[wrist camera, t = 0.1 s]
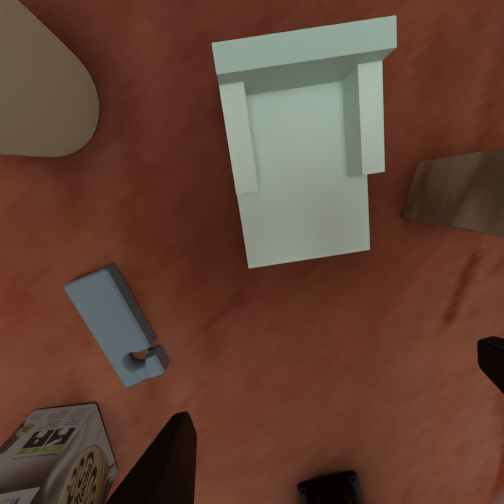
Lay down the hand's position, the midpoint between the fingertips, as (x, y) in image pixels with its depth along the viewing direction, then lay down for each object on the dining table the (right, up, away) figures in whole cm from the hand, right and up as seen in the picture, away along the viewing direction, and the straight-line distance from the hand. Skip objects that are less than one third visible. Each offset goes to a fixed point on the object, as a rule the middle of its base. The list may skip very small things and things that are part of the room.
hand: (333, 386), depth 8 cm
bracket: (-14, -2, +16) cm, 21 cm away
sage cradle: (+1, +10, +13) cm, 16 cm away
